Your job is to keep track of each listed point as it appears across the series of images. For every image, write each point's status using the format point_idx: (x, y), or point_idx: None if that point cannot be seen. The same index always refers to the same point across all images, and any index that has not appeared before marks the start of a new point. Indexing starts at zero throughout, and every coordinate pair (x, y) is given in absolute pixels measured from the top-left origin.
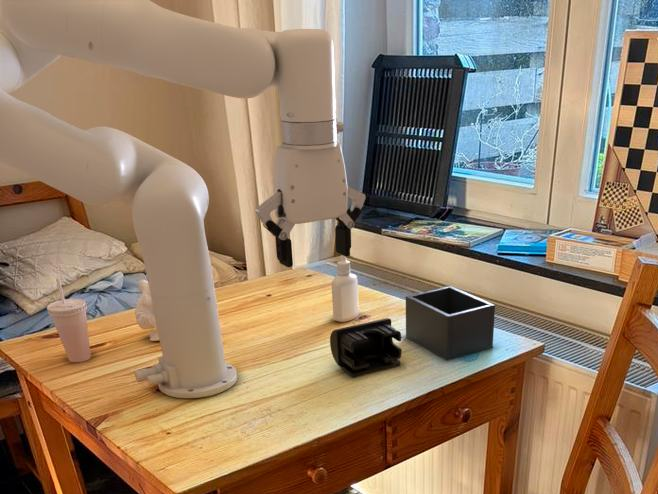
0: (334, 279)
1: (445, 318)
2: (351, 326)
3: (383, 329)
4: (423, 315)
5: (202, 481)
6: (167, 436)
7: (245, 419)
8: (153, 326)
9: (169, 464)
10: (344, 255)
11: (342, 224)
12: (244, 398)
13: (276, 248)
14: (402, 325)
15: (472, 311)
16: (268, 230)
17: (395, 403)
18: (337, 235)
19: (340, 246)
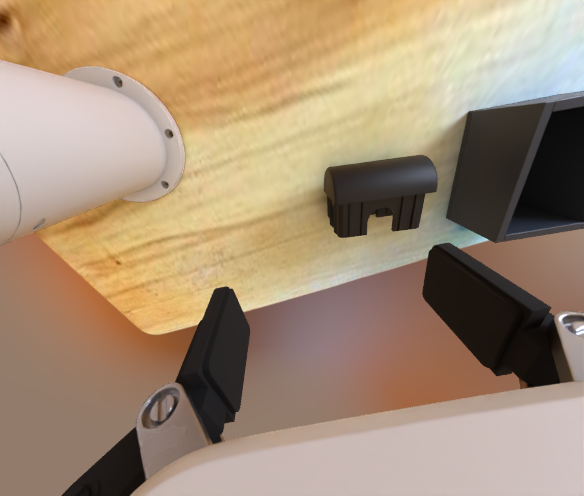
0: None
1: (493, 235)
2: (365, 195)
3: (404, 213)
4: (500, 173)
5: (163, 332)
6: (118, 267)
7: (196, 263)
8: None
9: (132, 308)
10: (423, 291)
11: (526, 374)
12: (195, 218)
13: (190, 348)
14: (512, 37)
15: (540, 235)
16: (115, 451)
17: (338, 282)
18: (477, 300)
19: (442, 289)
